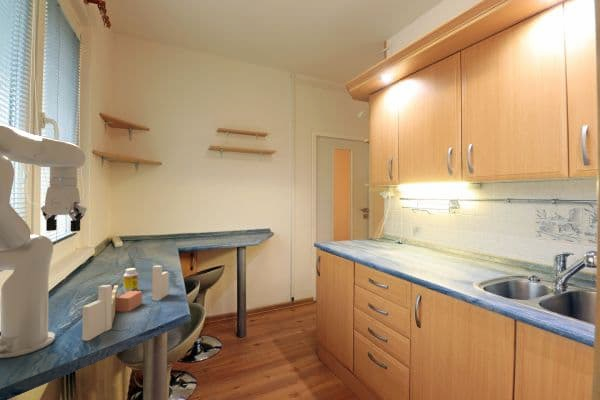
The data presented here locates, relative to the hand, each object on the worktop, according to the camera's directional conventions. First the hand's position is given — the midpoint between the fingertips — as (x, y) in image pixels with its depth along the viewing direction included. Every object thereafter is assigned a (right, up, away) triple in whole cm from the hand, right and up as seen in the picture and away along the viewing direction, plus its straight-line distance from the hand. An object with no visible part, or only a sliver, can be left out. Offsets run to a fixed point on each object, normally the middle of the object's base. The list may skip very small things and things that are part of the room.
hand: (63, 230), depth 99 cm
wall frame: (+24, -31, +3) cm, 39 cm away
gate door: (+17, -30, +1) cm, 35 cm away
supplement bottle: (+9, -31, +25) cm, 41 cm away
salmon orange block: (+19, -31, +8) cm, 37 cm away
